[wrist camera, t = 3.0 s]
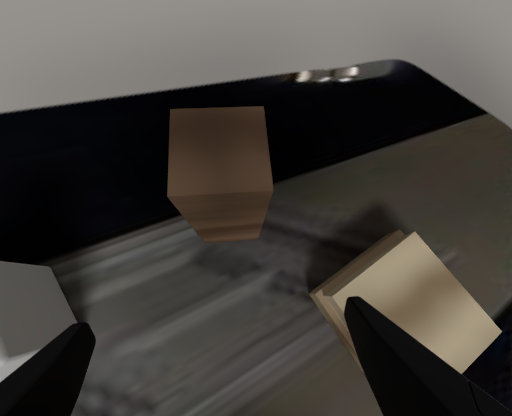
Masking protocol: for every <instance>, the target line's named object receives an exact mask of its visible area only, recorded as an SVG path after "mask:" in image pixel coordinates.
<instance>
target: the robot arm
mask: <svg viewBox="0 0 512 416" xmlns="http://www.w3.org/2000/svg"><path fill="white" fill-rule="evenodd" d="M344 318H345V321H346V324H347V327H348V330H349V333H350V336H351V339H352V342H353V345H354V348H355V351H356V354H357V356H358V359H359V362H360V364H361V367H362V369H363V371H364V374H365V376H366V378H367V380H368V382H369V385H370V387H371V389H372V391H373V393H374V396H375V398H376V400H377V402H378V405H379V407H380V409H381V411H382V413H383V416H512V411H510V410H509V409H507V408H506V407H505V406H503V405H502V404H501V403H499V402H498V401H497V400H495V399H494V398H493V397H491V396H490V395H488V394H487V393H486V392H484V391H483V390H482V389H481V388H479V387H478V386H477V385H475V384H474V383H473V382H471V381H469V380H467V378H466V377H465V376H463V375H462V374H461V373H459V372H458V371H457V370H455V369H454V368H453V367H452V366H450V365H449V364H448V363H446V362H445V361H444V360H442V359H441V358H440V357H438V356H437V355H436V354H434V353H433V352H432V351H431V350H429V349H428V348H427V347H425V346H424V345H423V344H421V343H420V342H419V341H417V340H416V339H415V338H413V337H412V336H411V335H410V334H408V333H407V332H406V331H404V330H403V329H402V328H400V327H399V326H398V325H396V324H395V323H394V322H392V321H391V320H390V319H389V318H387V317H386V316H385V315H383V314H382V313H381V312H379V311H378V310H377V309H375V308H374V307H373V306H372V305H370V304H369V303H368V302H366V301H365V300H364V299H362V298H361V297H359V296H352V297H348V298H347V300H346V305H345V309H344ZM95 343H96V339H95V336H94V334H93V332H92V330H91V328H90V326H89V324H88V323H86V322H82V323H74V324H72V325H70V326H69V327H68V328H67V329H65V330H64V331H63V332H62V333H60V334H59V335H58V336H57V337H55V338H54V339H53V340H52V341H51V342H49V343H48V344H47V345H46V346H44V347H43V348H42V349H41V350H39V351H38V352H37V353H36V354H35V355H33V356H32V357H31V358H30V359H28V360H27V361H26V362H25V363H23V364H22V365H21V366H20V367H18V368H17V369H16V370H15V371H14V372H12V373H11V374H10V375H9V376H7V377H6V378H5V379H4V380H2V381H1V382H0V416H71V413H72V411H73V408H74V406H75V404H76V401H77V399H78V396H79V393H80V390H81V388H82V384H83V381H84V378H85V375H86V372H87V369H88V366H89V363H90V360H91V356H92V353H93V350H94V347H95Z"/></svg>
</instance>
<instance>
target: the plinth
mask: <svg viewBox="0 0 512 416" xmlns="http://www.w3.org/2000/svg"><path fill="white" fill-rule="evenodd" d="M309 295H310V296H311V298H312V299H313V301H314V302H315V304H316V305H317V307H318V308H319V309H320V311H321V312H322V314H323V315H324V317H325V318H326V320H327V321H328V322H329V324H330V325H331V327H332V328H333V330H334V331H335V333H336V334H337V335H338V337H339V338H340V340H341V341H342V343H343V344H344V346H345V347H346V349H347V350H348V351H349V353H350V354H351V356H352V357H353V359H354V360H355V362H356V363H357V364H358V366H359V367H360V369H361V370H362V372H363V373H364V371H363V369H362V367H361V364H360V362H359V359H358V356H357V354H356V351H355V348H354V345H353V342H352V339H351V336H350V333H349V330H348V327H347V324H346V321H345V318H344V309H345V305H346V300H347V298H348V297H352V296H359V297H361V298H362V299H364V300H365V301H366V302H368V303H369V304H370V305H372V306H373V307H374V308H375V309H377V310H378V311H379V312H381V313H382V314H383V315H385V316H386V317H387V318H389V319H390V320H391V321H392V322H394V323H395V324H396V325H398V326H399V327H400V328H402V329H403V330H404V331H406V332H407V333H408V334H410V335H411V336H412V337H413V338H415V339H416V340H417V341H419V342H420V343H421V344H423V345H424V346H425V347H427V348H428V349H429V350H431V351H432V352H433V353H434V354H436V355H437V356H438V357H440V358H441V359H442V360H444V361H445V362H446V363H448V364H449V365H450V366H452V367H453V368H454V369H455V370H457V371H458V372H459V373H461V374H462V373H463V372H464V371H465V370H466V369H467V368H468V367H469V366H470V365H471V364H472V362H473V361H474V360H475V359H476V358H477V357H478V356H479V355H480V354H481V353H482V352H483V351H484V350H485V349H486V348H487V347H488V346H489V345H490V344H491V343H492V342H493V341H494V340H495V339H496V337H497V336H498V335H499V334H500V333H501V332H502V331H501V330H500V329H499V328H498V327H497V325H496V324H495V323H494V322H493V321H492V320H491V318H490V317H489V316H488V315H487V314H486V313H485V312H484V310H483V309H482V308H481V307H480V306H479V305H478V304H477V302H476V301H475V300H474V299H473V298H472V297H471V295H470V294H469V293H468V292H467V291H466V290H465V289H464V287H463V286H462V285H461V284H460V283H459V282H458V281H457V279H456V278H455V277H454V276H453V275H452V274H451V272H450V271H449V270H448V269H447V268H446V267H445V266H444V264H443V263H442V262H441V261H440V260H439V259H438V258H437V256H436V255H435V254H434V253H433V252H432V251H431V249H430V248H429V247H428V246H427V245H426V244H425V243H424V241H423V240H422V239H421V238H420V237H419V236H418V235H417V233H416V232H412V233H409V234H406V235H404V233H403V232H402V231H401V230H400V229H398V230H396V231H393V232H390V233H388V234H386V235H385V236H384V237H382V238H381V239H380V240H378V241H377V242H376V243H374V244H373V245H372V246H370V247H369V248H368V249H366V250H365V251H364V252H363V253H361V254H360V255H359V256H357V257H356V258H355V259H353V260H352V261H351V262H349V263H348V264H347V265H345V266H344V267H343V268H341V269H340V270H339V271H338V272H336V273H335V274H334V275H332V276H331V277H330V278H328V279H327V280H326V281H324V282H323V283H322V284H320V285H319V286H318V287H316V288H315V289H314V290H312V291H311V292H310V293H309ZM364 375H365V374H364Z"/></svg>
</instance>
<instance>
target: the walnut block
mask: <svg viewBox="0 0 512 416" xmlns="http://www.w3.org/2000/svg"><path fill="white" fill-rule="evenodd" d="M272 194H273V182H272V174H271V165H270V156H269V148H268V139H267V131H266V122H265V114H264V106H256V107H224V108H191V109H170V132H169V163H168V193H167V197H168V198H169V199H170V201H171V202H172V203H173V204H174V205H175V207H176V208H177V209H178V210H179V212H180V213H181V214H182V215H183V217H184V218H185V219H186V220H187V221H188V223H189V224H190V225H191V226H192V228H193V229H194V230H195V231H196V232H197V234H198V235H199V236H200V237H201V239H202V240H203V241H204V242H205V243H212V242H226V241H239V240H253V239H258V238H259V235H260V231H261V228H262V225H263V222H264V219H265V216H266V213H267V209H268V206H269V203H270V200H271V197H272Z"/></svg>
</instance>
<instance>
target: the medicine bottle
mask: <svg viewBox="0 0 512 416" xmlns="http://www.w3.org/2000/svg"><path fill="white" fill-rule="evenodd" d="M74 323H77V321H76V319H75V317H74V315H73V313H72V311H71V309H70V306H69V304H68V302H67V300H66V298H65V296H64V294H63V292H62V290H61V288H60V286H59V284H58V282H57V280H56V278H55V276H54V274H53V272H52V270H51V268H50V267H48V266H40V265H31V264H22V263H13V262H5V261H0V382H1V381H2V380H4V379H5V378H6V377H7V376H9V375H10V374H11V373H12V372H14V371H15V370H16V369H17V368H18V367H20V366H21V365H22V364H23V363H25V362H26V361H27V360H28V359H30V358H31V357H32V356H33V355H35V354H36V353H37V352H38V351H39V350H41V349H42V348H43V347H44V346H46V345H47V344H48V343H49V342H51V341H52V340H53V339H54V338H55V337H57V336H58V335H59V334H60V333H62V332H63V331H64V330H65V329H67V328H68V327H69V326H70V325H72V324H74Z"/></svg>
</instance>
